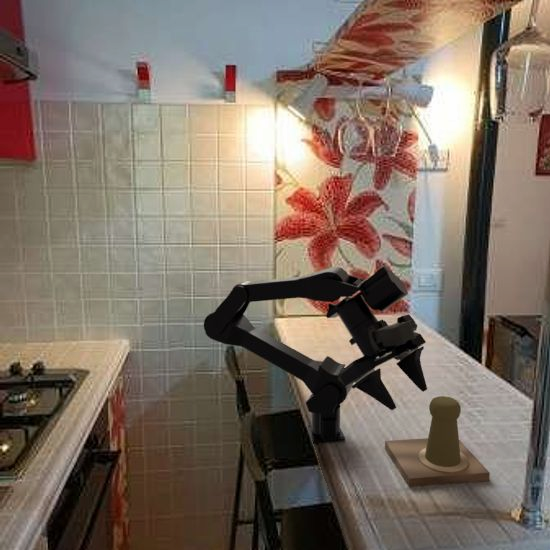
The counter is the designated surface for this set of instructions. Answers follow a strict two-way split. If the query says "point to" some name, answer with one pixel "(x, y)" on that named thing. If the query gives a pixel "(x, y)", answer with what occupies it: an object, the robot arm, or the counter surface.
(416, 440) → the plate
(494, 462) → the counter surface
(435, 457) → the pepper shaker
